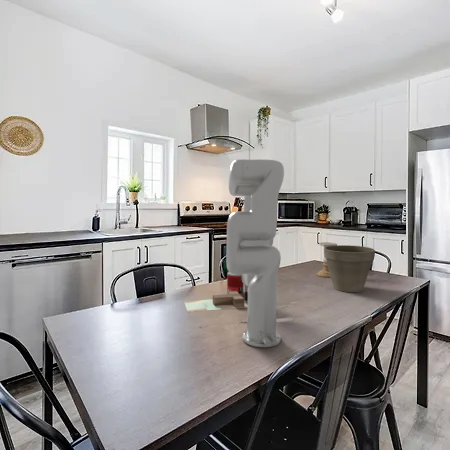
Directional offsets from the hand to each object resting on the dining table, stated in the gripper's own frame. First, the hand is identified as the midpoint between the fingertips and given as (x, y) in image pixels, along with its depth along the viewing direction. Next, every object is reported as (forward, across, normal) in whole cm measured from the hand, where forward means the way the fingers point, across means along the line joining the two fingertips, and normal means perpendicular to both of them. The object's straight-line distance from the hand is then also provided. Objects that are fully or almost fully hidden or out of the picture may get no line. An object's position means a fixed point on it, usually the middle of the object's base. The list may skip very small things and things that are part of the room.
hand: (248, 300), depth 141 cm
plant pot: (+2, +13, -59) cm, 61 cm away
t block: (+1, 0, +10) cm, 10 cm away
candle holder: (+2, +42, -65) cm, 77 cm away
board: (+2, 0, +15) cm, 15 cm away
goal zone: (+2, 0, +21) cm, 21 cm away
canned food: (+2, +15, +2) cm, 15 cm away
